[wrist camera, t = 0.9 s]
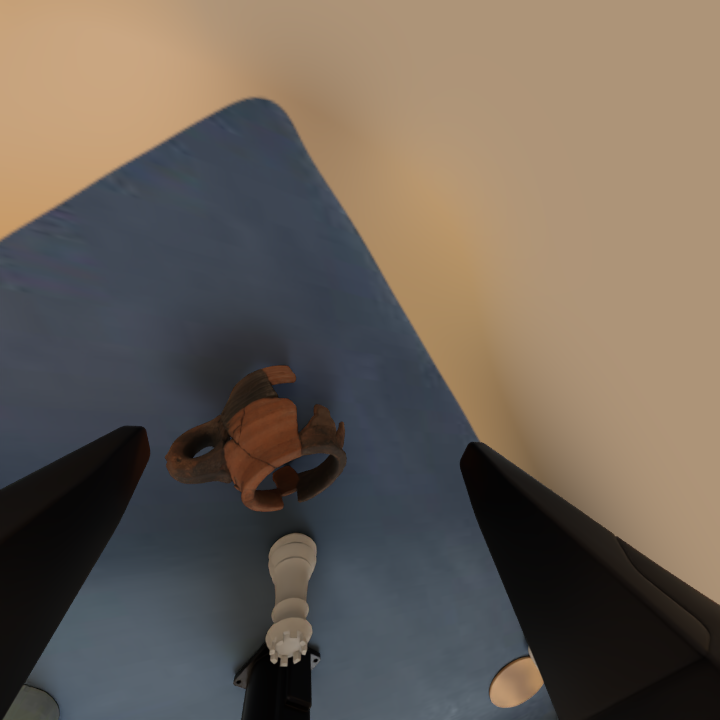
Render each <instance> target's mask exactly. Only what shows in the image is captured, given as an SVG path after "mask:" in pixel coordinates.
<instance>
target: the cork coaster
mask: <svg viewBox="0 0 720 720" xmlns="http://www.w3.org/2000/svg"><path fill="white" fill-rule="evenodd" d="M543 683H544V682H543V679H542V677H541V674H540V672H539V670H538V668H537V667H536V665H535V664H534V662H533V660H532V659H531V657H530V656H527V657H522V658H519V659H517V660H515V661H513V662H511V663H509V664H508V665H507V666H505V667H504V668H503V669H502V670H501V671H500V672H499V673H498V674H497V675H496V677H495V678H494V680H493V681H492V683H491V686H490V690H489V695H490V699H491V701H492V702H493V703H494V704H495V705H496V706H498V707H502V708H507V707H513V706H516V705H519V704H521V703H523V702H525V701H526V700H528V699H529V698H531V697H532V696H533V695H534V694H535V693H536V692H537V691H538V690H539V689H540V687H541V686H542V684H543Z"/></svg>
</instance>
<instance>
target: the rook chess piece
mask: <svg viewBox="0 0 720 720" xmlns="http://www.w3.org/2000/svg"><path fill="white" fill-rule="evenodd" d="M316 553H317V550H316V544H315V543H314V542H313V540H312V539H311V538H310V537H308V536H306V535H304V534H302V533H291V534H287V535H285V536H283V537H282V538H280V539H279V540H278V541H276V543H275V544H274V545H273V546H272V547H271V550H270V553H269V563H268V566H269V572H270V576H271V577H272V580H273V583H274V584H275V607H274V608H273V611H272V614H271V616H272V620H273V622H274V624H273V625H272V626H271V628H270V629H269V630H268V632H267V635H266V638H265V639H266V644H267V647H268V648H269V650H270V653H269V655H271V659H270V661H271V662H272V663H273V664H275V663H276V662H277V661H278V657H279V658H281V660H280V666H287V663H288V658H289V657H292V656H293V662H294V664H295V663H297V662H299V661H300V660H301V654H302V655H305V654H306V652H307V643H308V642H309V640H310V638H311V635H312V626H311V625H310V623H309V622H308V621H307V620H306V617H307V615H308V612H309V607H308V604H307V603H306V595H307V587H308V580H309V579H310V577H311V574H312V572H313V570H314V567H315V565H316Z"/></svg>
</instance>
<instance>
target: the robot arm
mask: <svg viewBox="0 0 720 720" xmlns="http://www.w3.org/2000/svg"><path fill="white" fill-rule="evenodd" d="M149 457H150V447H149V442H148V437H147V432H146V429H145V428H144V427H142V426H122V427H120V428H118V429H116V430H114V431H112V432H110V433H108V434H107V435H105V436H103V437H101V438H99V439H97V440H95V441H93V442H91V443H89V444H87V445H85V446H83V447H81V448H80V449H78V450H76V451H74V452H72V453H70V454H68V455H66V456H64V457H62V458H60V459H58V460H56V461H55V462H53V463H51V464H49V465H47V466H45V467H43V468H41V469H39V470H37V471H35V472H33V473H31V474H30V475H28V476H26V477H24V478H22V479H20V480H18V481H16V482H14V483H12V484H10V485H8V486H6V487H5V488H3V489H1V490H0V720H3V718H4V717H5V715H6V713H7V712H8V710H9V708H10V707H11V705H12V703H13V702H14V700H15V698H16V697H17V695H18V693H19V691H20V690H21V688H22V686H23V685H24V683H25V681H26V680H27V678H28V676H29V675H30V673H31V671H32V670H33V668H34V666H35V664H36V663H37V661H38V659H39V658H40V656H41V654H42V653H43V651H44V649H45V648H46V646H47V644H48V643H49V641H50V639H51V637H52V636H53V634H54V632H55V631H56V629H57V627H58V626H59V624H60V622H61V621H62V619H63V617H64V616H65V614H66V612H67V611H68V609H69V607H70V605H71V604H72V602H73V600H74V599H75V597H76V595H77V594H78V592H79V590H80V589H81V587H82V585H83V584H84V582H85V580H86V578H87V577H88V575H89V573H90V572H91V570H92V568H93V567H94V565H95V563H96V562H97V560H98V558H99V557H100V555H101V553H102V551H103V550H104V548H105V546H106V545H107V543H108V541H109V540H110V538H111V536H112V535H113V533H114V531H115V529H116V528H117V526H118V524H119V522H120V520H121V518H122V516H123V514H124V512H125V510H126V508H127V505H128V503H129V501H130V499H131V497H132V495H133V493H134V490H135V488H136V486H137V484H138V482H139V480H140V477H141V475H142V473H143V471H144V469H145V467H146V465H147V462H148V460H149ZM460 469H461V472H462V475H463V479H464V482H465V485H466V488H467V491H468V495H469V498H470V501H471V504H472V508H473V511H474V513H475V516H476V519H477V522H478V524H479V527H480V529H481V532H482V534H483V536H484V539H485V541H486V544H487V546H488V548H489V551H490V553H491V556H492V558H493V561H494V563H495V565H496V568H497V570H498V573H499V575H500V578H501V580H502V582H503V585H504V587H505V590H506V592H507V594H508V597H509V599H510V602H511V604H512V607H513V609H514V611H515V614H516V616H517V619H518V621H519V624H520V626H521V628H522V631H523V633H524V636H525V638H526V640H527V643H528V645H529V648H530V650H531V653H532V655H533V657H534V660H535V662H536V665H537V667H538V670H539V672H540V674H541V677H542V679H543V682H544V684H545V686H546V689H547V691H548V694H549V696H550V699H551V701H552V703H553V706H554V708H555V711H556V713H557V716H558V718H559V720H720V605H719V604H717V603H716V602H714V601H713V600H711V599H709V598H708V597H706V596H705V595H703V594H701V593H700V592H699V591H697V590H695V589H694V588H693V587H691V586H689V585H688V584H686V583H685V582H683V581H682V580H680V579H679V578H677V577H676V576H674V575H673V574H671V573H670V572H668V571H667V570H665V569H664V568H662V567H661V566H659V565H658V564H656V563H655V562H653V561H652V560H650V559H649V558H648V557H646V556H645V555H643V554H642V553H640V552H639V551H637V550H636V549H634V548H633V547H632V546H630V545H629V544H627V543H626V542H624V541H623V540H622V539H620V538H619V537H617V536H615V535H614V534H613V533H612V532H610V531H609V530H607V529H606V528H604V527H603V526H602V525H600V524H599V523H597V522H596V521H594V520H593V519H591V518H590V517H589V516H587V515H586V514H584V513H583V512H582V511H580V510H579V509H577V508H576V507H574V506H573V505H572V504H570V503H568V502H567V501H566V500H564V499H563V498H562V497H560V496H559V495H557V494H556V493H554V492H553V491H552V490H550V489H549V488H547V487H546V486H544V485H543V484H542V483H540V482H539V481H537V480H536V479H534V478H533V477H532V476H530V475H529V474H527V473H526V472H524V471H523V470H522V469H520V468H519V467H517V466H516V465H514V464H513V463H511V462H510V461H509V460H507V459H506V458H504V457H503V456H502V455H500V454H499V453H497V452H496V451H494V450H493V449H492V448H490V447H489V446H487V445H486V444H484V443H482V442H470V443H469V444H468V445H467V447H466V449H465V451H464V453H463V455H462V457H461V460H460ZM269 653H270V650H269V648H268V647H267V644H266V642H265V644H264V645H263V646H262V647H261V648H260V649H259V650H258V651H257V652H256V653H255V654H254V656H253V657H252V658H251V659H250V660H249V661H248V662H247V663H246V664H245V665H244V666H243V668H242V669H241V670H240V671H239V672H238V673H237V674H236V675H235V677H234V682H233V684H234V685H235V686H238V687H241V688H244V689H246V691H245V698H244V704H243V711H242V718H241V720H310V708H311V705H312V697H311V670H312V669H313V668H314V667H315V666H316V665H317V664H318V663H319V662H320V653H319V652H316V651H314V650H312V649H309V648H307V652H306V654H305V655H302V654H301V660H300V661H299V662H297V663H295V664H294V662H293V656H292V657H289V658H288V663H287V666H280V660H281V658H279V657H278V661H277V662H276V663H275V664H273V663H272V662H271V661H270V659H271V655H269Z"/></svg>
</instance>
